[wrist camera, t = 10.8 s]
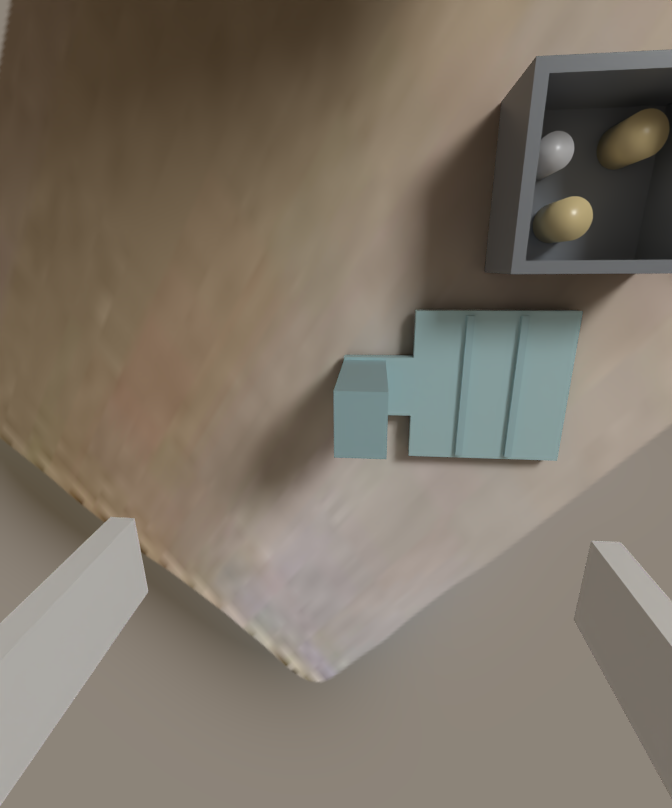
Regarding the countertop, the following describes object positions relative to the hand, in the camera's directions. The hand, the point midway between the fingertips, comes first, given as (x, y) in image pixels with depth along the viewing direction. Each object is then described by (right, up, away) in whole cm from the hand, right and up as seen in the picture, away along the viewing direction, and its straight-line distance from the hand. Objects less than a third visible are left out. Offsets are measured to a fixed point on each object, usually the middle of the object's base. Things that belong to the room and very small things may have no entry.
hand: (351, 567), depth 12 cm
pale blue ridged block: (+8, +6, +19) cm, 22 cm away
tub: (+15, +19, +15) cm, 28 cm away
